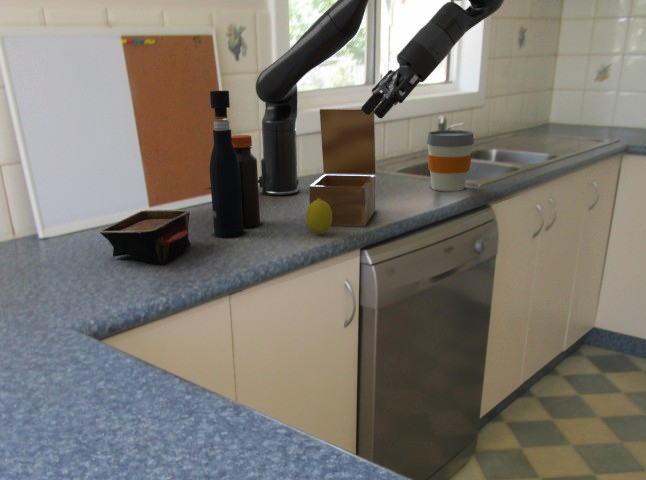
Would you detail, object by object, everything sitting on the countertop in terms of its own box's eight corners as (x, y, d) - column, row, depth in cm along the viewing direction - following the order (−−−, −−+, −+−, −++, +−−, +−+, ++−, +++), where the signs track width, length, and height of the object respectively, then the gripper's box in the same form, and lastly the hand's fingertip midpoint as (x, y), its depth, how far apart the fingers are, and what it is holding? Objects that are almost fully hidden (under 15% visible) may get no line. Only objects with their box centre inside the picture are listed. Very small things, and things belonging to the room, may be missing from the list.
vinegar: (235, 221, 156) (230, 134, 149) (263, 221, 155) (259, 134, 148) (226, 228, 150) (220, 138, 143) (255, 229, 149) (250, 138, 142)
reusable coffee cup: (452, 194, 177) (455, 137, 172) (415, 188, 186) (417, 133, 181) (480, 187, 185) (483, 132, 179) (443, 181, 194) (446, 129, 188)
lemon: (322, 240, 139) (322, 202, 136) (301, 236, 142) (300, 199, 139) (337, 234, 143) (337, 197, 140) (316, 230, 146) (316, 194, 143)
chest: (364, 226, 148) (364, 187, 145) (310, 224, 151) (309, 186, 148) (374, 211, 162) (375, 175, 158) (324, 209, 165) (323, 174, 161)
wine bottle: (249, 231, 147) (240, 90, 136) (234, 238, 142) (224, 92, 131) (224, 229, 150) (214, 90, 139) (208, 236, 144) (197, 92, 134)
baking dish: (98, 271, 130) (89, 224, 124) (148, 234, 144) (141, 191, 139) (162, 283, 125) (155, 235, 120) (207, 244, 139) (202, 200, 134)
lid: (373, 109, 150) (377, 103, 154) (319, 109, 153) (324, 103, 157) (375, 174, 158) (378, 166, 162) (323, 173, 161) (328, 165, 165)
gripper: (451, 66, 129) (393, 130, 131) (423, 65, 142) (372, 123, 144) (426, 37, 126) (368, 103, 128) (400, 39, 139) (348, 98, 141)
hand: (370, 113), depth 136 cm, fingers open, 8 cm apart
